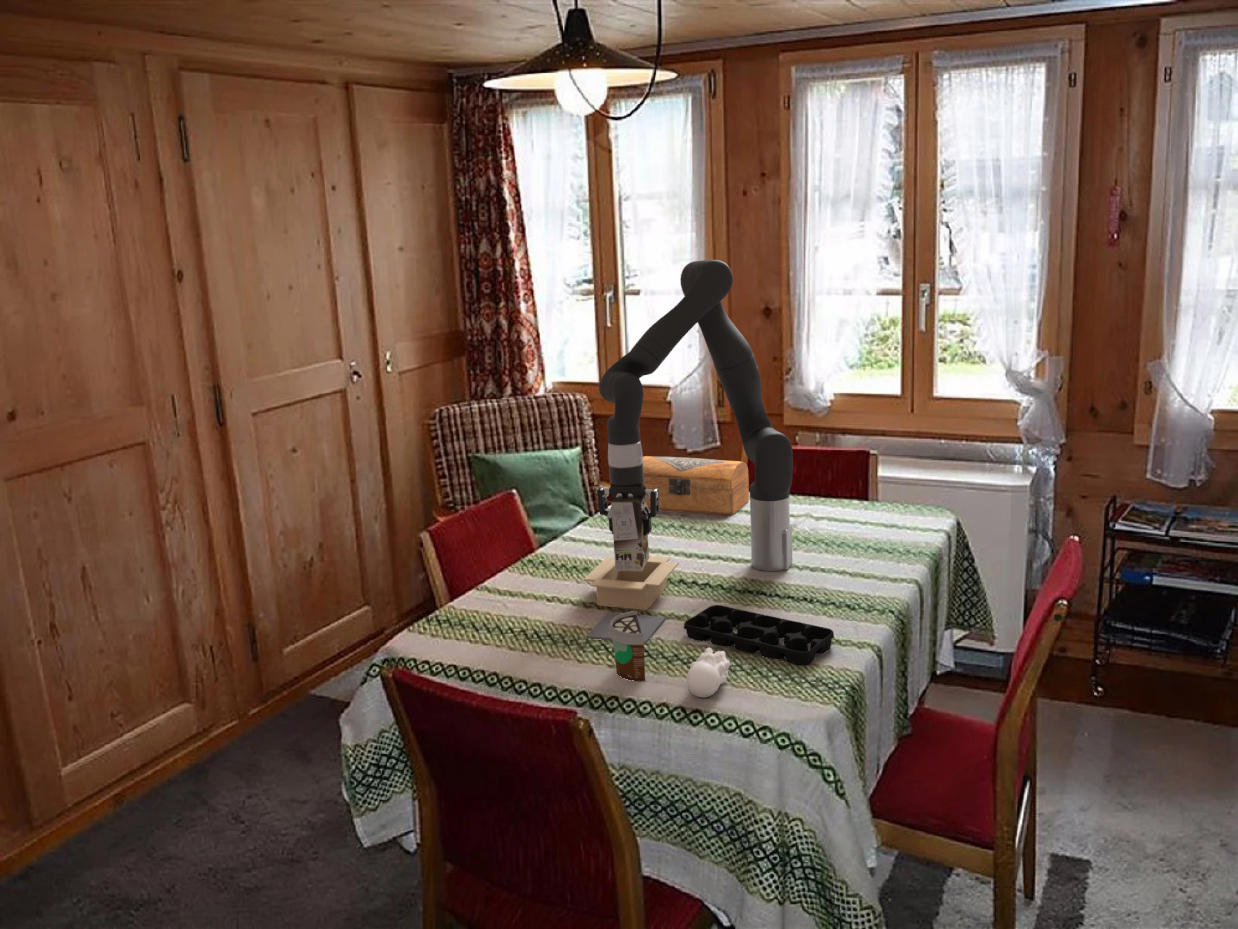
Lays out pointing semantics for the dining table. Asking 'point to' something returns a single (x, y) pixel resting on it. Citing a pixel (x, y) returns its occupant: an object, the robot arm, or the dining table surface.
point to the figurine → (707, 673)
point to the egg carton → (760, 634)
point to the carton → (631, 583)
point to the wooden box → (697, 484)
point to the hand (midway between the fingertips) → (630, 533)
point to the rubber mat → (646, 622)
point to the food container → (628, 646)
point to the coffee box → (629, 534)
